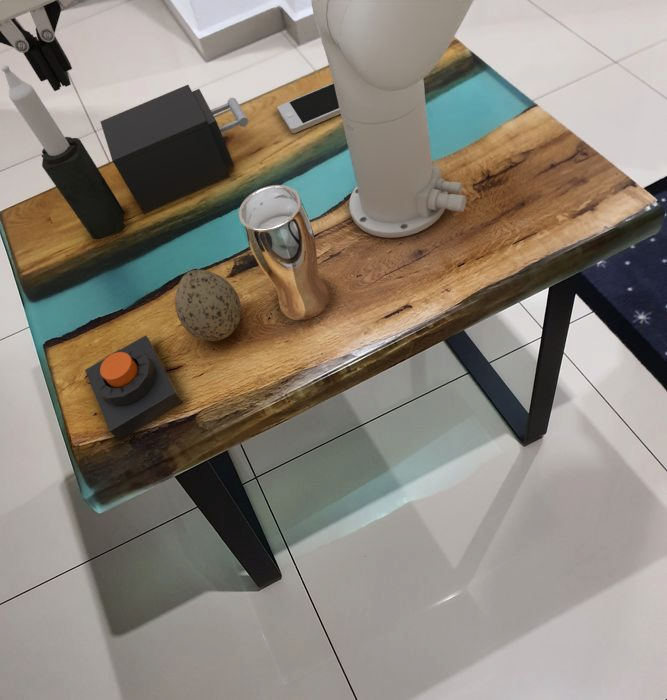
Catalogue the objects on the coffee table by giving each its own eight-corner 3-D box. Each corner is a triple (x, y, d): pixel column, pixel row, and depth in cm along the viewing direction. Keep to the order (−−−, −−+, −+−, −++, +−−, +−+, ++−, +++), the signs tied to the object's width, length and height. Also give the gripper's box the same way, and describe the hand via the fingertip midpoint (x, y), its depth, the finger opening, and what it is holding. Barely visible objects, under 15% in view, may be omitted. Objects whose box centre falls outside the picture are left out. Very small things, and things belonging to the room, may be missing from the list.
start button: (142, 376, 71) (135, 367, 70) (113, 393, 70) (105, 385, 69) (132, 355, 73) (125, 346, 72) (103, 371, 73) (95, 363, 71)
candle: (92, 218, 95) (-16, 60, 76) (124, 207, 95) (26, 47, 75) (91, 241, 92) (-21, 83, 72) (125, 230, 92) (21, 69, 72)
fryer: (211, 139, 101) (188, 84, 93) (230, 176, 94) (206, 120, 87) (130, 174, 100) (100, 121, 92) (143, 214, 93) (112, 160, 86)
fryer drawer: (243, 122, 100) (226, 76, 94) (261, 154, 94) (245, 108, 88) (142, 165, 99) (118, 122, 93) (155, 200, 93) (130, 156, 87)
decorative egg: (237, 297, 80) (208, 240, 72) (259, 334, 76) (231, 278, 68) (185, 325, 79) (150, 270, 71) (205, 364, 75) (170, 311, 67)
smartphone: (277, 111, 101) (276, 105, 101) (367, 73, 102) (366, 67, 101) (292, 134, 97) (291, 129, 96) (386, 95, 98) (385, 89, 97)
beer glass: (309, 332, 74) (272, 240, 63) (265, 310, 78) (222, 218, 66) (344, 290, 77) (316, 194, 65) (300, 271, 80) (265, 176, 68)
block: (183, 402, 72) (168, 383, 69) (119, 440, 71) (101, 423, 68) (153, 345, 78) (139, 325, 75) (93, 379, 77) (76, 361, 74)
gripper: (-188, -100, 43) (-13, 133, 57) (25, -181, 44) (143, 68, 58) (-176, -129, 47) (-17, 94, 62) (17, -203, 48) (128, 34, 63)
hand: (61, 81), depth 60 cm, fingers closed
